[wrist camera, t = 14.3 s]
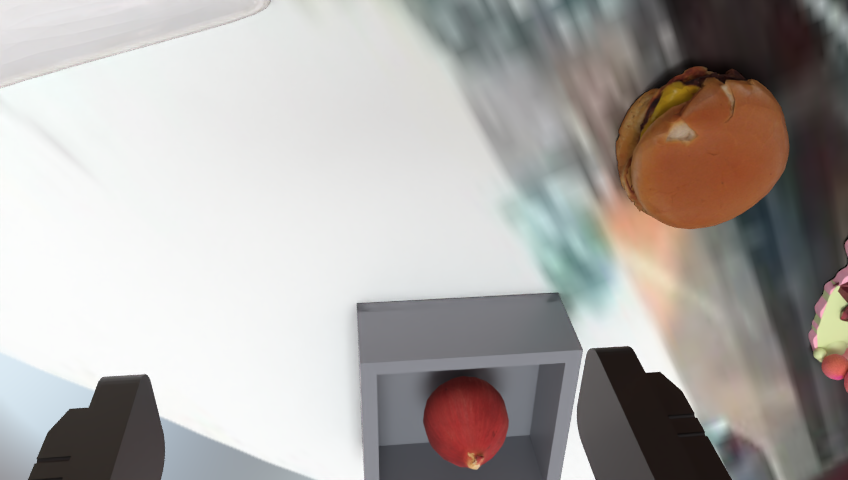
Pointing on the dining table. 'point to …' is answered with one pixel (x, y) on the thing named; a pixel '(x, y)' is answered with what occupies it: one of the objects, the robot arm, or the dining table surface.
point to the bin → (474, 357)
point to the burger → (702, 148)
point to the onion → (466, 421)
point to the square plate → (99, 29)
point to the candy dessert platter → (832, 327)
